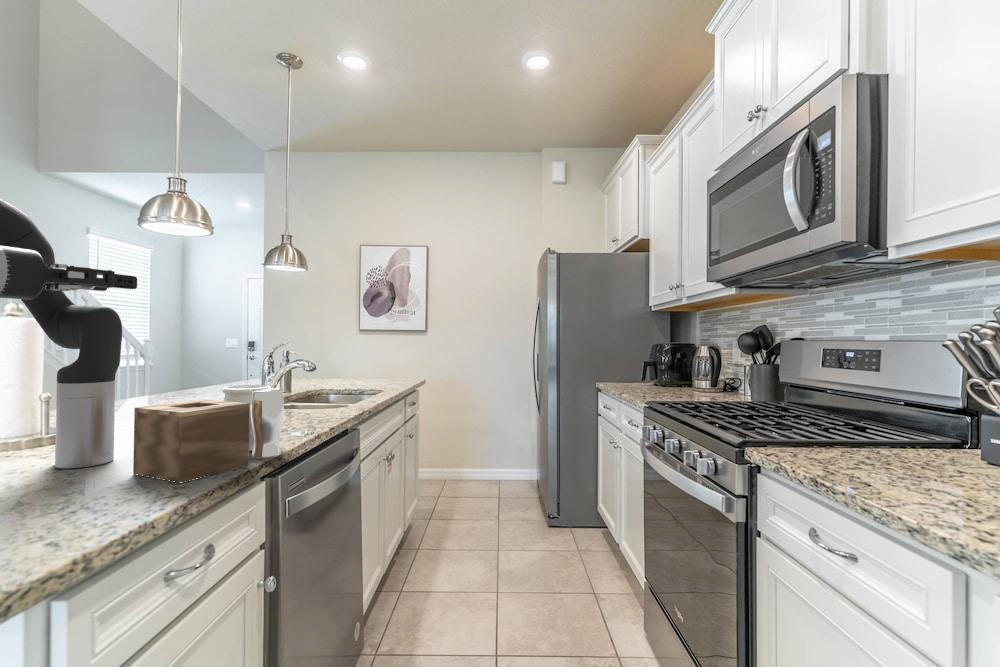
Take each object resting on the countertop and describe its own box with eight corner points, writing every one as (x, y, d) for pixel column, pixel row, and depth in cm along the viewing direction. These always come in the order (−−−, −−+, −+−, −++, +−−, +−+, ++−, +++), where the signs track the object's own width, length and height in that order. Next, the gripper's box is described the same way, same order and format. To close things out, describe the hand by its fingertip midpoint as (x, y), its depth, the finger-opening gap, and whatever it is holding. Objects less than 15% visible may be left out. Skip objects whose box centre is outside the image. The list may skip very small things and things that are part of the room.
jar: (234, 444, 116) (235, 384, 116) (276, 443, 117) (277, 384, 118) (212, 454, 106) (213, 389, 106) (259, 453, 107) (260, 388, 107)
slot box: (133, 474, 90) (134, 407, 90) (203, 457, 103) (204, 399, 103) (181, 483, 84) (182, 412, 85) (248, 464, 97) (249, 403, 97)
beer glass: (269, 460, 101) (270, 391, 101) (241, 458, 102) (242, 390, 102) (289, 453, 108) (290, 388, 108) (263, 451, 109) (264, 387, 109)
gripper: (17, 240, 63) (147, 260, 78) (-34, 247, 68) (96, 264, 83) (16, 295, 63) (146, 304, 78) (-35, 298, 68) (96, 306, 83)
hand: (120, 284), depth 81 cm, fingers open, 8 cm apart
